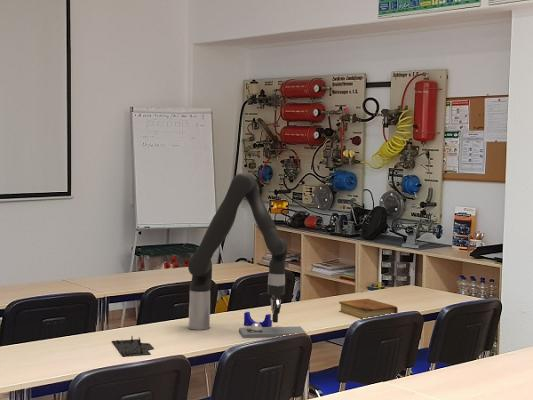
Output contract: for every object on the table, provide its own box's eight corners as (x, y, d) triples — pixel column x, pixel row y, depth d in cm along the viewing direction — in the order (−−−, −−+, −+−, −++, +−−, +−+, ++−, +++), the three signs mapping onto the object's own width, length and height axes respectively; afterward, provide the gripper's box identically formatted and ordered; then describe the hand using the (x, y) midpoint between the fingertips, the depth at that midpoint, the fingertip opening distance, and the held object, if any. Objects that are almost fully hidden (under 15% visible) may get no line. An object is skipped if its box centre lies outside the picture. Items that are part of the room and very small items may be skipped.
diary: (397, 318, 406) (397, 306, 406) (366, 321, 397) (366, 309, 397) (368, 309, 426) (369, 298, 426) (338, 312, 417) (339, 301, 416)
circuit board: (111, 342, 348) (111, 335, 348) (145, 340, 353) (145, 333, 353) (122, 358, 325) (122, 350, 325) (158, 355, 330) (158, 347, 330)
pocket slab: (242, 337, 359) (242, 334, 359) (238, 330, 371) (238, 327, 371) (306, 336, 363) (306, 333, 363) (300, 329, 376) (300, 326, 376)
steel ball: (251, 324, 363) (262, 323, 364) (249, 322, 368) (260, 321, 368) (251, 336, 363) (263, 334, 364) (250, 333, 368) (261, 332, 369)
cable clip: (271, 326, 382) (272, 313, 382) (268, 328, 378) (268, 315, 378) (247, 323, 387) (248, 311, 386) (243, 325, 382) (244, 312, 382)
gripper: (265, 280, 372) (264, 318, 373) (270, 286, 359) (269, 325, 360) (282, 280, 373) (280, 318, 374) (287, 286, 360) (286, 325, 361)
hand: (275, 322), depth 367 cm, fingers closed
